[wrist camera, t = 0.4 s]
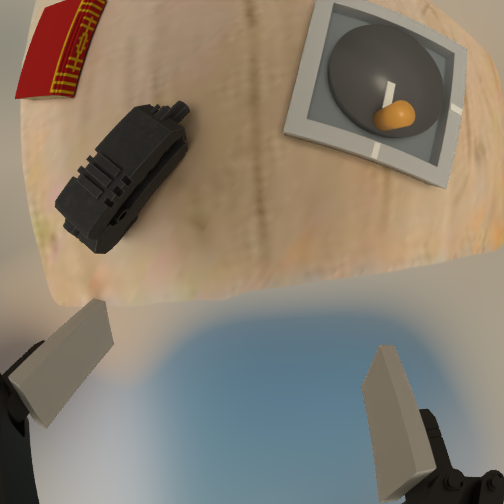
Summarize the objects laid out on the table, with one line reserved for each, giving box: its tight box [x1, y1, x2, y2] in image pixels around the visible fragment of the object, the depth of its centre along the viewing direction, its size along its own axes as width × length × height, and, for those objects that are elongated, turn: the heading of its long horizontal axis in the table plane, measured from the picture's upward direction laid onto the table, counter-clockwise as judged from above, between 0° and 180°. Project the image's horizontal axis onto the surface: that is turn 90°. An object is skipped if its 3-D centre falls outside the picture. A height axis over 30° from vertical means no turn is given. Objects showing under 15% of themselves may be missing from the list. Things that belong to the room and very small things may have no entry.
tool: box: [55, 101, 190, 254], centre depth 31 cm, size 6×19×15 cm, turn 143°
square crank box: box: [283, 0, 467, 189], centre depth 26 cm, size 20×20×5 cm
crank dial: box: [328, 25, 445, 138], centre depth 22 cm, size 14×14×8 cm
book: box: [15, 0, 106, 100], centre depth 28 cm, size 18×13×5 cm
